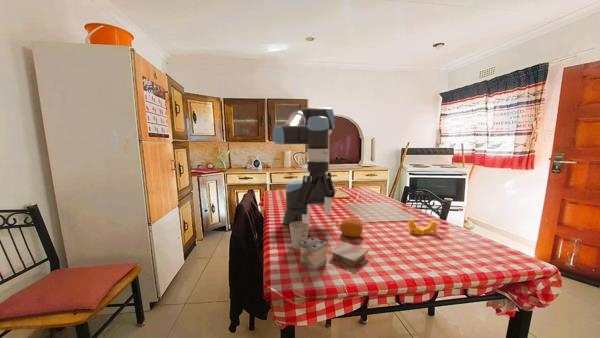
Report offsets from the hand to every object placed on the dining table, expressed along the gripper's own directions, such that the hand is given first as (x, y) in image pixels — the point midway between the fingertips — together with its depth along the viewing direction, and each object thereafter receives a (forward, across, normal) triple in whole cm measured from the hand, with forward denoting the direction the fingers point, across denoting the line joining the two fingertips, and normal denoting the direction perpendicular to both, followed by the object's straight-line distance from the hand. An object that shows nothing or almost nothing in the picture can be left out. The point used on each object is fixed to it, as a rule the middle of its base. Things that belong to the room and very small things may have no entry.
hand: (317, 218), depth 83 cm
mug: (+17, +6, +16) cm, 24 cm away
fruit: (+17, +31, +2) cm, 35 cm away
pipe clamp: (+17, +56, -23) cm, 63 cm away
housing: (+17, -1, +1) cm, 17 cm away
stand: (+17, +11, -7) cm, 22 cm away
